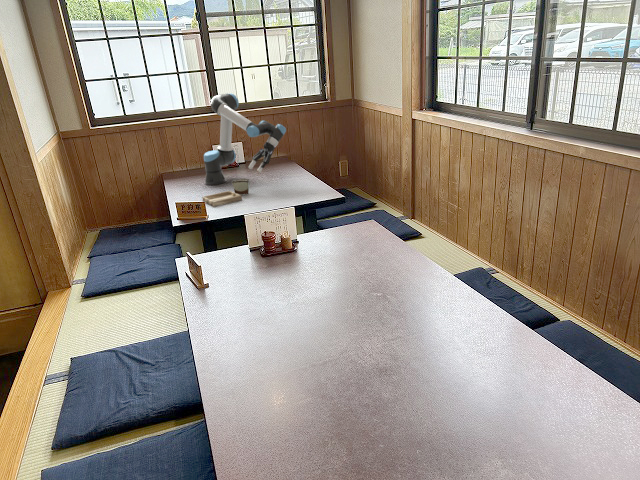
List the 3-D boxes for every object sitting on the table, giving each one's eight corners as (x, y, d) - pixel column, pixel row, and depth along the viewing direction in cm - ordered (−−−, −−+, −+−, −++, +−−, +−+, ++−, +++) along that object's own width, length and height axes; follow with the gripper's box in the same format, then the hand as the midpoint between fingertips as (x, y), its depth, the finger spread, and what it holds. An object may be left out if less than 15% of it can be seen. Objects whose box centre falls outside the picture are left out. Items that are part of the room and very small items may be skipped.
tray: (202, 201, 319) (202, 196, 318) (230, 194, 329) (229, 190, 328) (213, 206, 305) (212, 202, 304) (242, 200, 315) (241, 195, 314)
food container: (252, 191, 333) (250, 177, 330) (250, 194, 328) (248, 179, 324) (235, 192, 335) (233, 178, 331) (233, 194, 329) (231, 180, 325)
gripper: (283, 149, 326) (266, 175, 324) (265, 146, 345) (249, 170, 343) (276, 143, 321) (258, 169, 319) (258, 139, 341) (242, 164, 338)
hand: (254, 170), depth 331 cm, fingers open, 13 cm apart
